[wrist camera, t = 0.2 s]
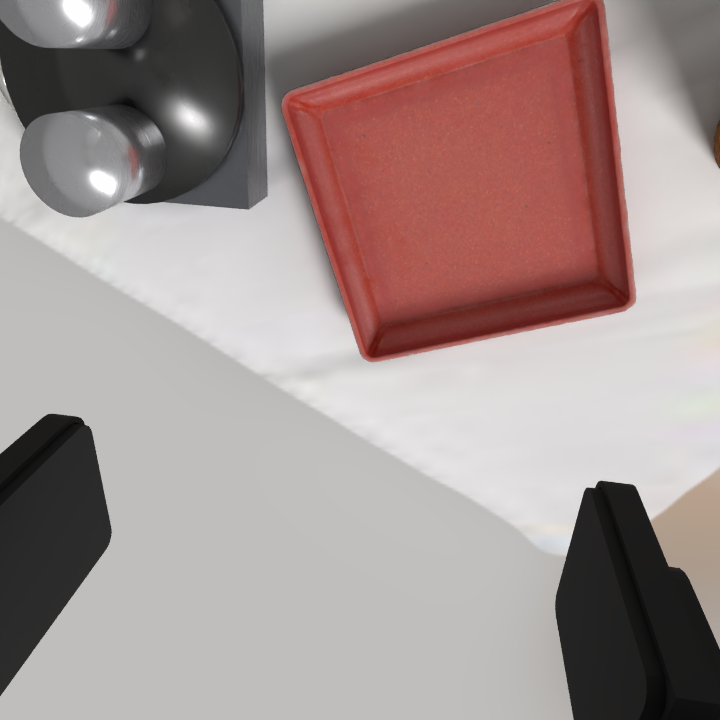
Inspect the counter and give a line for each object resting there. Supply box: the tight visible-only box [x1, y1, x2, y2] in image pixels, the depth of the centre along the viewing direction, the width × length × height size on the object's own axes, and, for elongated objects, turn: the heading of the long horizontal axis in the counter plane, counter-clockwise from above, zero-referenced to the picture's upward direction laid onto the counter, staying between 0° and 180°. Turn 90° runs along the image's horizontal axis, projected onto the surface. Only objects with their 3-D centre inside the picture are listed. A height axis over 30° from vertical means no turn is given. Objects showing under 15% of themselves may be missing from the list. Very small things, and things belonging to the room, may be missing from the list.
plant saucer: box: [281, 0, 636, 362], centre depth 37 cm, size 18×18×3 cm
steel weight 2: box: [20, 105, 167, 217], centre depth 32 cm, size 5×5×6 cm
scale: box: [0, 0, 267, 209], centre depth 36 cm, size 14×15×6 cm
